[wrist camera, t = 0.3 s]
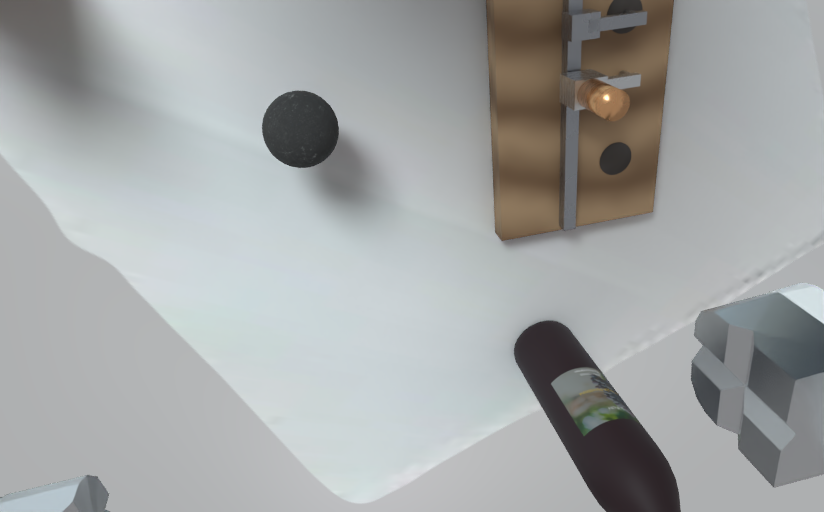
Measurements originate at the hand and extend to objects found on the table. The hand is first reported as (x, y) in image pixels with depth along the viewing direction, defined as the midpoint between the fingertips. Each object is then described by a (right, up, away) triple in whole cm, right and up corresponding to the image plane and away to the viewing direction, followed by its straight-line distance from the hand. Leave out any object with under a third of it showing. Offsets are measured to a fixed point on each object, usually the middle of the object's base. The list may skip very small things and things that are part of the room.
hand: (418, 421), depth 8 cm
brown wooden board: (+15, +17, +48) cm, 53 cm away
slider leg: (+16, +18, +45) cm, 51 cm away
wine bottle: (+15, -8, +62) cm, 64 cm away
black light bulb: (-10, +15, +44) cm, 47 cm away
